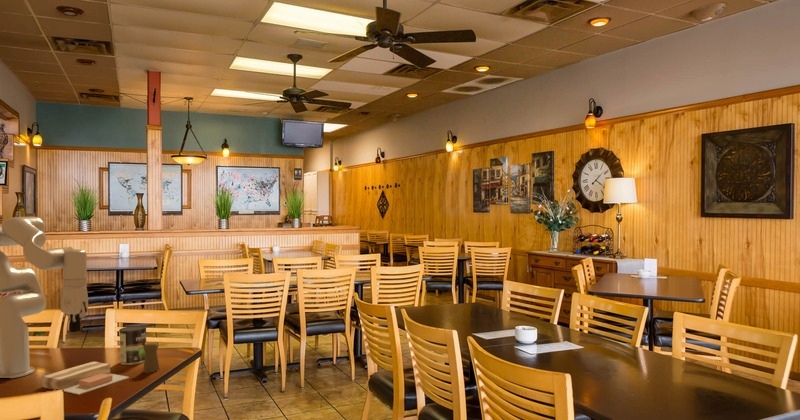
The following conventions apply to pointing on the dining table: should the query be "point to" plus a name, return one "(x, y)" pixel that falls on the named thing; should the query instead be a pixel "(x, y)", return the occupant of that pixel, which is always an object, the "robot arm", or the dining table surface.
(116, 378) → the grey mat
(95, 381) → the terracotta tile
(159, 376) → the dining table surface
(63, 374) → the birch board
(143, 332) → the coffee can
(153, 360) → the cork
